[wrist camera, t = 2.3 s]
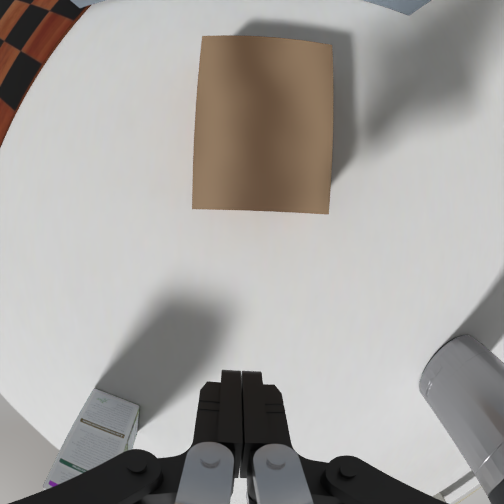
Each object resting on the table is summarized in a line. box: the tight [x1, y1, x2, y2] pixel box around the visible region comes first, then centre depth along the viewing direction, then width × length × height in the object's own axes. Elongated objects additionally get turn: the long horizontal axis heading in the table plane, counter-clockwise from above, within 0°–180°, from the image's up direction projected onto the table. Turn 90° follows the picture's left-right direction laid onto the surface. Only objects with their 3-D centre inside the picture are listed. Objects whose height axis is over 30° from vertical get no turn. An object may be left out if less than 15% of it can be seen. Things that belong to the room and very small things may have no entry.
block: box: [192, 36, 333, 214], centre depth 17 cm, size 8×11×4 cm
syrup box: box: [43, 388, 140, 490], centre depth 19 cm, size 6×6×14 cm
